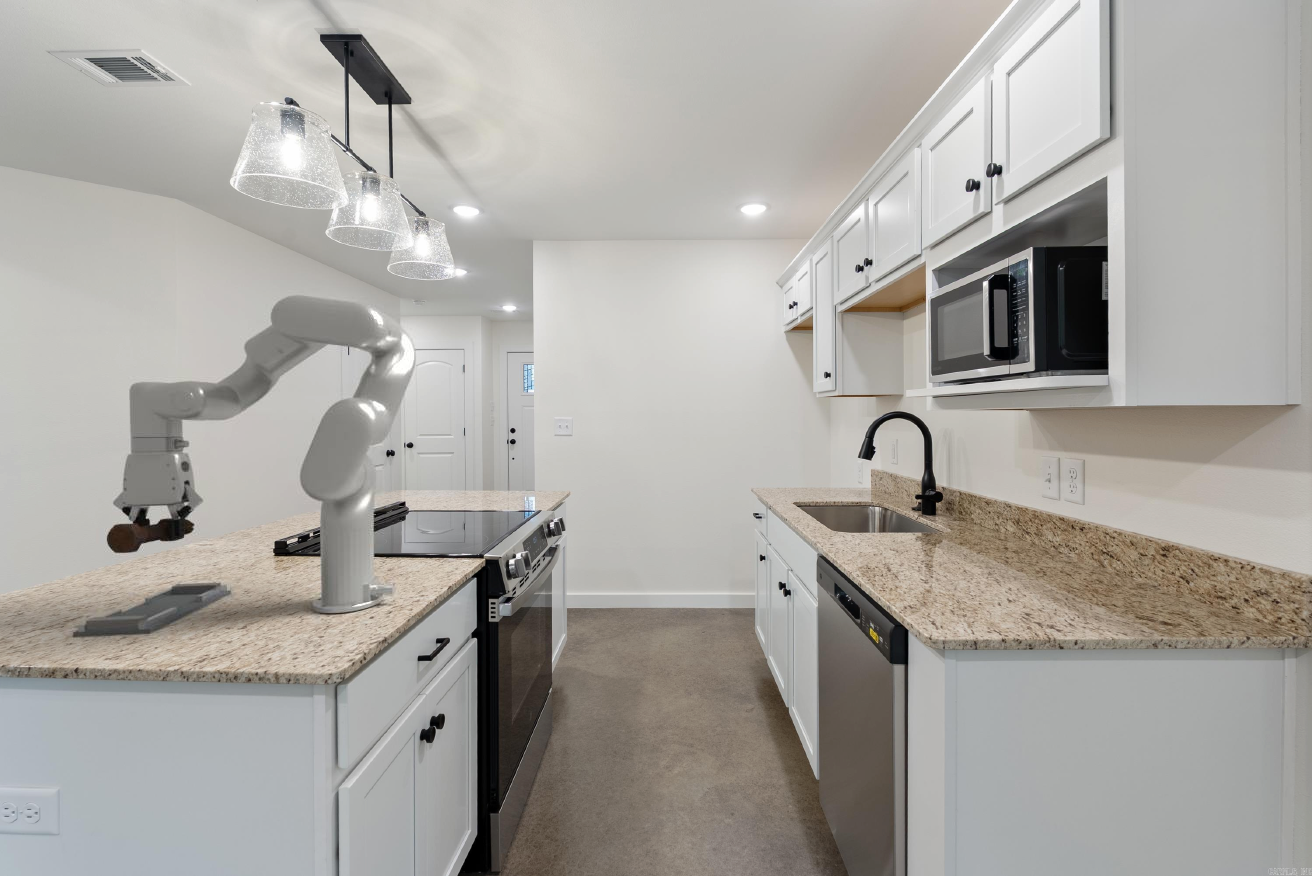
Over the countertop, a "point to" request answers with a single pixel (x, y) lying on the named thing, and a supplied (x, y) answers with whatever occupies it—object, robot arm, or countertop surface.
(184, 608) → the grey stepped tray
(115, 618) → the grey shallow tray
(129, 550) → the bolt
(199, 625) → the countertop surface
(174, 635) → the countertop surface
